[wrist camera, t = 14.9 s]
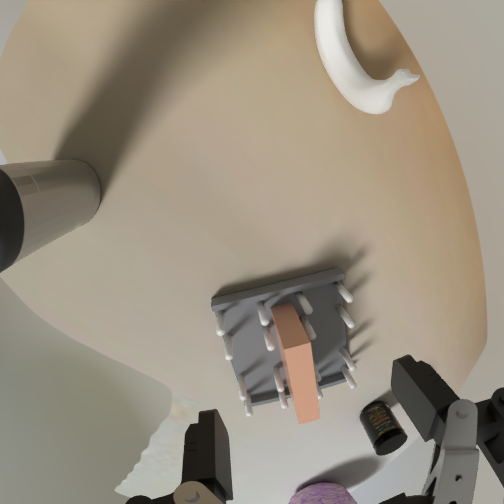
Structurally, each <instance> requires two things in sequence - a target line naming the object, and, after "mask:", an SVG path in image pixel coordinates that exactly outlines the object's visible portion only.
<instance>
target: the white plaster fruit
mask: <svg viewBox="0 0 504 504" xmlns="http://www.w3.org/2000/svg"><path fill="white" fill-rule="evenodd" d="M314 30H315V38H316V43H317V47H318V51H319V54H320V57H321V60H322V62H323V65H324V67H325V69H326V71H327V73H328V75H329V77H330V78H331V80H332V82H333V83H334V85H335V86H336V87H337V89H338V90H339V91H340V92H341V94H342V95H343V96H344V97H345V98H346V99H347V100H348V101H349V102H350V103H351V104H352V105H353V106H355V107H356V108H358V109H359V110H361V111H363V112H366V113H370V114H382V113H385V112H387V111H388V110H389V109H390V108H391V106H392V104H393V100H394V95H395V93H396V92H397V91H398V90H399V89H400V88H402V87H403V86H408V85H411V84H413V83H414V82H416V81H417V80H418V79H419V78H420V75H416V74H411V72H410V71H409V70H408V69H397V70H396V72H395V73H394V74H393V75H392V76H391V77H390V78H388V79H386V80H374V79H372V78H371V77H370V76H369V75H368V74H367V73H366V72H365V71H364V70H363V68H362V67H361V65H360V64H359V62H358V60H357V59H356V57H355V55H354V53H353V51H352V49H351V47H350V45H349V42H348V39H347V36H346V32H345V27H344V19H343V5H342V0H317V2H316V5H315V11H314Z"/></svg>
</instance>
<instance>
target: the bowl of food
mask: <svg viewBox="0 0 504 504" xmlns="http://www.w3.org/2000/svg"><path fill="white" fill-rule="evenodd" d="M289 504H357V502H356V501H355V500H354V499H353V497H352V496H351V495H350V493H349V492H348V491H347V490H346V489H345V488H344V487H342V486H341V485H339V484H335V483H315V484H312V485H309V486H306V487H305V488H303V489H302V490H301V491H299V492H297V493H296V494H295V495H294V496H292V498H291V499H290V501H289Z"/></svg>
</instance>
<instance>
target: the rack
mask: <svg viewBox="0 0 504 504" xmlns="http://www.w3.org/2000/svg"><path fill="white" fill-rule="evenodd" d="M342 279H345V277H344V273H343V272H342V271H341V270H340V269H339V268H338V267H336V268H332V269H328V270H325V271H321V272H317V273H313V274H309V275H305V276H301V277H297V278H294V279H290V280H286V281H282V282H278V283H273V284H269V285H265V286H261V287H257V288H253V289H249V290H244V291H240V292H236V293H232V294H227V295H223V296H219V297H214V298H212V302H211V307H212V311H213V312H214V311H215V314H216V317H217V334H218V335H220V336H223V339H224V342H225V358H226V359H227V360H231V363H232V366H233V369H234V372H235V374H236V377H237V380H238V383H239V393H240V399H241V400H244V402H245V408H246V415H247V416H248V417H250V416H252V415H253V412H252V406H257V405H262V404H266V403H271V402H275V401H279V400H280V402H281V406H282V408H283V409H286V408H288V403H287V398H291V395H290V392H289V388H288V385H287V381H286V377H285V373H284V368H283V364H282V359H281V354H280V350H279V345H278V341H277V336H276V331H275V327H274V322H273V318H272V313H271V309H270V307H274V306H278V305H282V304H286V303H290V302H292V305H293V307H294V309H295V311H296V313H297V315H298V317H299V319H300V321H301V323H302V325H303V328H304V330H305V332H306V334H307V336H308V338H309V340H310V342H311V349H312V356H313V364H314V371H315V379H316V387H317V395H318V399H322V398H323V394H322V392H321V390H320V389H324V388H327V387H330V386H333V385H337V384H340V383H343V382H346V381H347V382H348V384H349V386H350V387H351V389H354V388H355V387H356V386H357V385H356V383H355V381H354V380H353V378H352V376H351V374H350V373H349V371H348V369H347V365H348V367H349V369H350V370H351V371H354V370H356V368H357V367H356V365H355V364H354V362H353V360H352V359H351V357H350V356H349V354H348V352H347V348H346V331H345V323H346V324H347V326H348V327H349V328H353V327H354V326H355V322H354V321H353V320H352V318H351V317H350V316H349V315H348V313H347V312H346V311H345V309H344V304H343V297H344V299H345V300H346V301H347V302H348V303H351V302H352V301H353V300H354V297H353V296H352V295H351V294H350V293H349V291H348V290H347V289H346V288H345V287H344V286H343V285H342V283H341V280H342Z"/></svg>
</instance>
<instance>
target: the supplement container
mask: <svg viewBox="0 0 504 504" xmlns="http://www.w3.org/2000/svg"><path fill="white" fill-rule="evenodd" d="M360 421H361V423H362V425H363V427H364V429H365V431H366V433H367V435H368V437H369V439H370V441H371V443H372V445H373V448H374V450H375V452H376V454H377V455H386V454H389V453H392V452H393V451H395V450H397V449H398V448H400V447H401V446H402V445H403V444H404V443H405V442H406V440H407V435H406V433H405V431H404V429H403V428H402V427H401V425H400V423H399V422H398V420H397V419H396V417H395V415H394V414H393V412H392V411H391V409H390V407H389V406H388V404H387V403H386V402H384V401H377V402H374V403H371V404H369V405H368V406H367V407H365V408H364V409H363V411H362V412H361V414H360Z"/></svg>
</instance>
